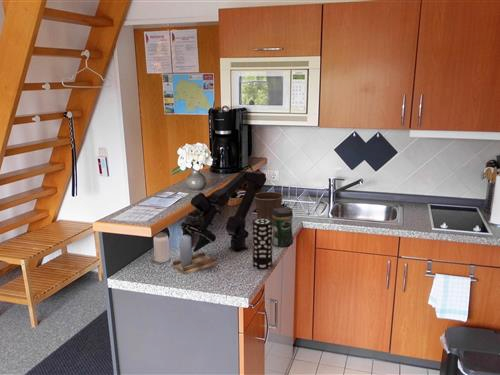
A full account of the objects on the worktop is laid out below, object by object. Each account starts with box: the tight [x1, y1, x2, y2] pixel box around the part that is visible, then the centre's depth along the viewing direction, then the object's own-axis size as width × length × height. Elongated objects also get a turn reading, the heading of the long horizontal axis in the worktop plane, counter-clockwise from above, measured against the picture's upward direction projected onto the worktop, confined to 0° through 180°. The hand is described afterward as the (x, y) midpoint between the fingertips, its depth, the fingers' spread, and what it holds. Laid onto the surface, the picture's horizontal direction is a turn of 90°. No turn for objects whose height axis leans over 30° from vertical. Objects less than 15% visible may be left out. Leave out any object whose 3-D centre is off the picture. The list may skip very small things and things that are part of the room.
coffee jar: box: [272, 206, 294, 248], centre depth 203 cm, size 10×8×19 cm
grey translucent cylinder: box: [179, 234, 193, 267], centre depth 179 cm, size 5×5×13 cm
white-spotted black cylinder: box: [251, 218, 273, 271], centre depth 179 cm, size 8×8×20 cm
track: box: [171, 251, 218, 275], centre depth 183 cm, size 16×11×2 cm
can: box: [153, 232, 170, 264], centre depth 187 cm, size 6×6×12 cm
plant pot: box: [254, 191, 284, 227], centre depth 235 cm, size 16×16×16 cm
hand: (187, 248), depth 179 cm, fingers open, 9 cm apart
